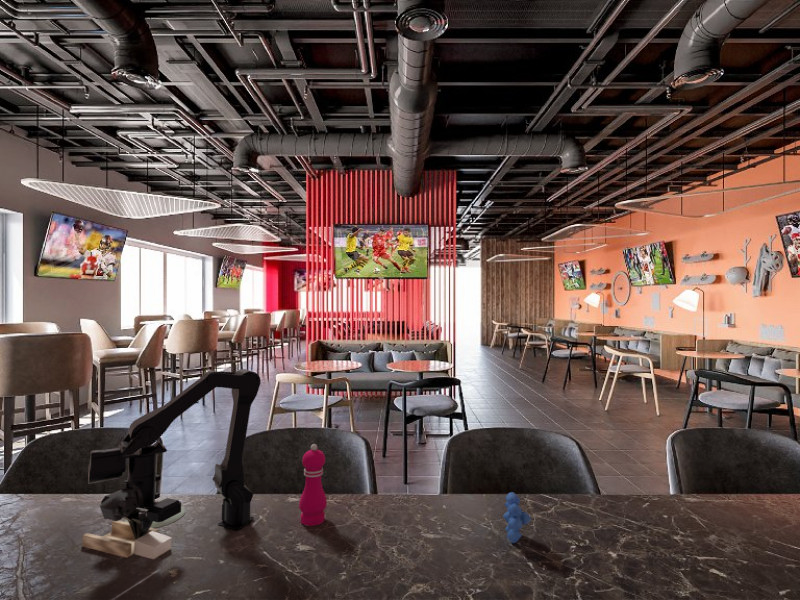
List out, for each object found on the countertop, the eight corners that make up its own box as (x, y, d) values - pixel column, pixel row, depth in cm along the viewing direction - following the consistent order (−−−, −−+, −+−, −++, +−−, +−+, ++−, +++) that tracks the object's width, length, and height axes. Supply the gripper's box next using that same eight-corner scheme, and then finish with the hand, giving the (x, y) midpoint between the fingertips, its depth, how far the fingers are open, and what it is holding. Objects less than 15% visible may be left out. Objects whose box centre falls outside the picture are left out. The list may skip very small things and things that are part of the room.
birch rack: (158, 541, 101) (158, 529, 102) (126, 559, 94) (127, 545, 94) (115, 531, 106) (115, 519, 106) (82, 547, 98) (82, 534, 99)
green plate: (196, 510, 118) (196, 507, 118) (152, 534, 105) (152, 531, 105) (158, 503, 122) (158, 500, 122) (111, 525, 109) (111, 522, 109)
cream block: (170, 550, 98) (171, 537, 98) (153, 561, 93) (154, 547, 94) (151, 543, 100) (152, 530, 100) (133, 553, 96) (134, 540, 96)
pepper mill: (320, 528, 109) (321, 449, 110) (293, 525, 110) (295, 447, 111) (330, 515, 116) (331, 441, 117) (305, 513, 117) (307, 439, 118)
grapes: (535, 557, 96) (535, 503, 97) (504, 554, 97) (504, 501, 98) (528, 532, 108) (527, 483, 108) (500, 529, 109) (500, 482, 109)
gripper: (78, 480, 94) (75, 552, 94) (140, 492, 88) (137, 570, 87) (125, 464, 105) (122, 529, 104) (184, 474, 99) (181, 543, 98)
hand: (139, 542), depth 98 cm, fingers closed
